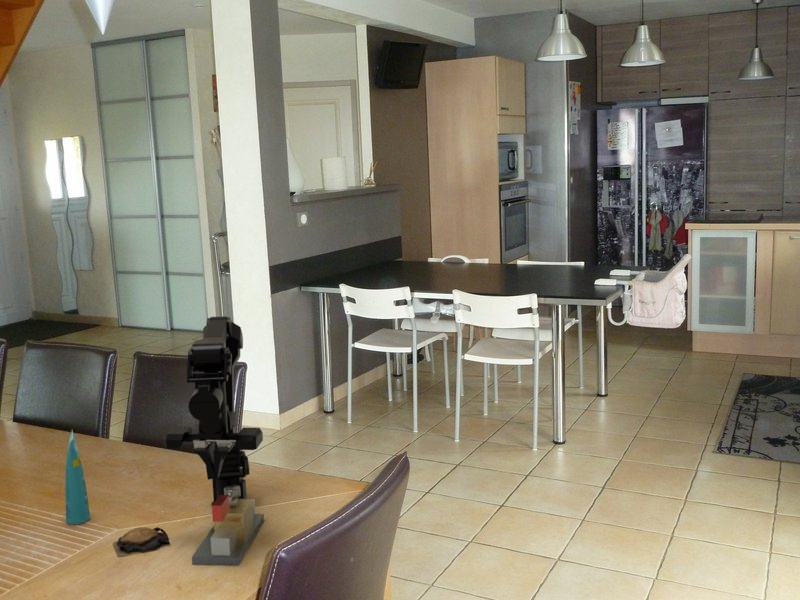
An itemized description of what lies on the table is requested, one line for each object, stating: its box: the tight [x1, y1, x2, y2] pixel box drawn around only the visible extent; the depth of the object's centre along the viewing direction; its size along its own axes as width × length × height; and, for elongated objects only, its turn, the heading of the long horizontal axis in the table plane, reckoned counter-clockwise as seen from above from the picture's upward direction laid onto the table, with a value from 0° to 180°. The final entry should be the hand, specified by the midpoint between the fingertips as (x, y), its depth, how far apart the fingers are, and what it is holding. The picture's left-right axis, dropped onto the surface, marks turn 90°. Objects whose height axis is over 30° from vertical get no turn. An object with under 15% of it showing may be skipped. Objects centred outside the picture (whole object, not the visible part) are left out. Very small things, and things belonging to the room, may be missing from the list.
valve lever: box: [211, 485, 241, 523], centre depth 160 cm, size 12×3×3 cm, turn 176°
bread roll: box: [112, 526, 171, 558], centre depth 165 cm, size 11×8×4 cm
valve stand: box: [191, 498, 265, 566], centre depth 165 cm, size 9×20×9 cm, turn 175°
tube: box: [64, 429, 91, 525], centre depth 176 cm, size 7×5×19 cm, turn 26°
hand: (216, 478), depth 166 cm, fingers closed
